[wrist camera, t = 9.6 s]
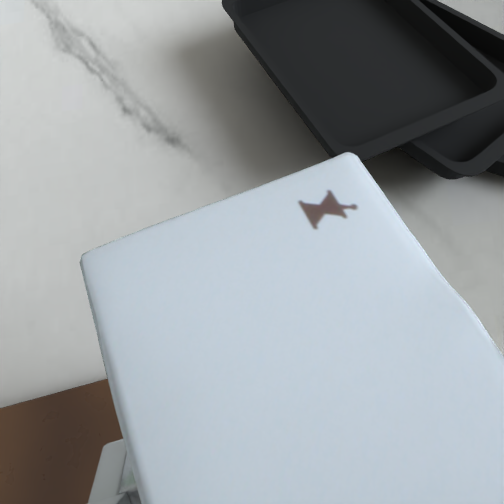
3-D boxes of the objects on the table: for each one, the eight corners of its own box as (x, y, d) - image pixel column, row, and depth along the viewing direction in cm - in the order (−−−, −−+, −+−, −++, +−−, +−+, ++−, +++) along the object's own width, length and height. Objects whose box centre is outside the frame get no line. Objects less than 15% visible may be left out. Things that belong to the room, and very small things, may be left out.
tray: (587, 41, 40) (626, -18, 36) (584, 267, 30) (638, 223, 25) (262, -7, 47) (260, -63, 42) (167, 165, 36) (151, 116, 32)
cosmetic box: (204, 414, 16) (66, 238, 6) (313, 367, 17) (359, 134, 7) (272, 615, 13) (232, 947, 3) (401, 550, 14) (732, 645, 4)
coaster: (-65, 636, 23) (-79, 641, 22) (-52, 427, 27) (-63, 425, 27) (175, 561, 24) (170, 563, 23) (146, 372, 28) (142, 368, 28)
